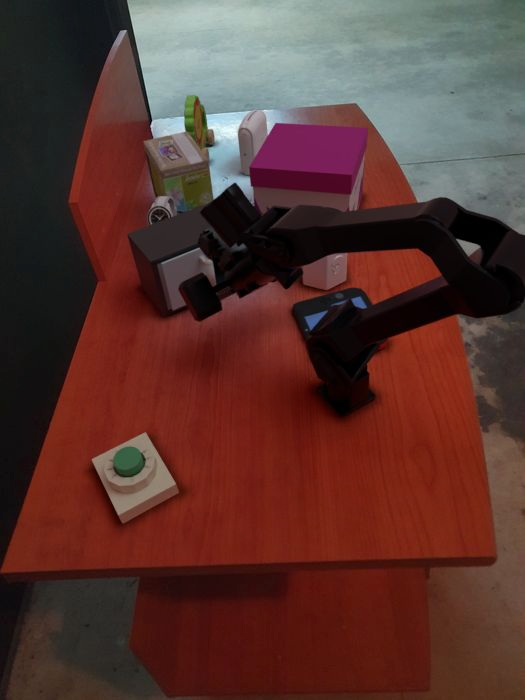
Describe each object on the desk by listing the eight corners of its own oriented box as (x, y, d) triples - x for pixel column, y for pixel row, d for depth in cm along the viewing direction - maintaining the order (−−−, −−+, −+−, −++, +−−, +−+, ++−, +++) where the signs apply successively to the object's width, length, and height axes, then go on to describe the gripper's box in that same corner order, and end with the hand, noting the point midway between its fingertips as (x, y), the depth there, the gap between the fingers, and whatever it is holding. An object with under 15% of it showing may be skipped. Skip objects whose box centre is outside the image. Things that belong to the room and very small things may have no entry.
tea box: (219, 225, 119) (209, 158, 109) (173, 237, 117) (158, 171, 107) (198, 192, 129) (187, 128, 119) (155, 203, 127) (140, 139, 117)
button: (148, 468, 74) (145, 460, 72) (122, 482, 72) (119, 474, 71) (137, 449, 76) (134, 441, 75) (112, 462, 75) (108, 454, 73)
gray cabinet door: (227, 301, 100) (220, 254, 92) (181, 321, 97) (170, 274, 90) (216, 290, 102) (209, 243, 95) (171, 309, 99) (160, 262, 92)
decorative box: (348, 245, 111) (352, 174, 100) (255, 236, 115) (249, 167, 105) (363, 195, 123) (368, 127, 113) (279, 188, 128) (275, 122, 117)
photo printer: (256, 177, 132) (252, 124, 124) (239, 175, 134) (234, 123, 125) (271, 156, 139) (268, 105, 130) (254, 154, 140) (250, 104, 131)
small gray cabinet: (252, 278, 106) (246, 223, 97) (164, 317, 100) (150, 261, 91) (226, 253, 112) (218, 199, 103) (142, 288, 106) (126, 233, 98)
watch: (153, 260, 112) (141, 211, 104) (164, 236, 117) (153, 188, 110) (180, 261, 111) (170, 212, 103) (190, 237, 117) (181, 189, 109)
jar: (317, 296, 101) (317, 239, 92) (290, 274, 106) (288, 218, 97) (356, 277, 104) (360, 220, 95) (328, 256, 109) (329, 200, 100)
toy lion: (195, 141, 148) (186, 80, 137) (216, 140, 147) (208, 79, 136) (185, 171, 137) (173, 108, 126) (207, 171, 136) (198, 107, 125)
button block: (179, 492, 75) (173, 476, 72) (122, 524, 72) (114, 508, 69) (148, 441, 81) (142, 424, 78) (95, 468, 78) (87, 451, 76)
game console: (291, 308, 99) (290, 298, 97) (360, 293, 101) (361, 283, 99) (315, 366, 89) (315, 356, 87) (392, 349, 90) (394, 339, 89)
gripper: (284, 187, 82) (247, 223, 96) (171, 238, 75) (150, 268, 89) (320, 257, 82) (278, 281, 97) (212, 313, 75) (184, 331, 90)
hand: (224, 289), depth 93 cm, fingers open, 9 cm apart
